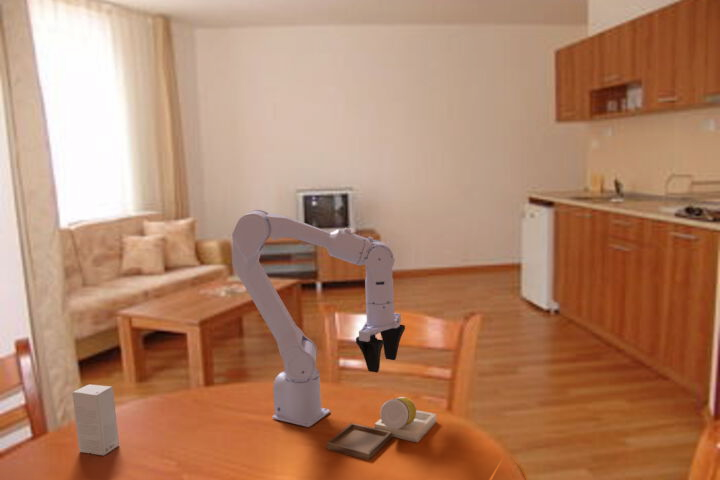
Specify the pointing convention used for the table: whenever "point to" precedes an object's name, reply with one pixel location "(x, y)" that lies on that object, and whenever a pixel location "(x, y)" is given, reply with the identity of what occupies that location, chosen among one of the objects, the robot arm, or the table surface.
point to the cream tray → (412, 427)
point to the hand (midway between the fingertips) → (382, 365)
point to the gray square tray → (359, 441)
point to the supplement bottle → (398, 412)
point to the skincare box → (96, 419)
